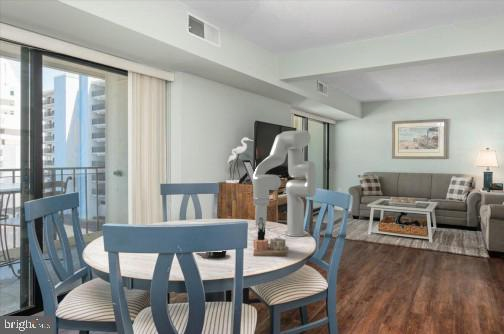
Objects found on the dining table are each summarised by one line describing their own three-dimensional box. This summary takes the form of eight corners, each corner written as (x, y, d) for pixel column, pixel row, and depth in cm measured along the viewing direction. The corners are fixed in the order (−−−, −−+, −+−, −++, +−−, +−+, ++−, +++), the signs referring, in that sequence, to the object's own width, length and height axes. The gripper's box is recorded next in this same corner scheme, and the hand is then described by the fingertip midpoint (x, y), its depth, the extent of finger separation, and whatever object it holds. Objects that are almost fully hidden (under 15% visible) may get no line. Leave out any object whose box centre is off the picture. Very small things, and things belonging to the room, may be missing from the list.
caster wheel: (227, 260, 156) (215, 263, 148) (207, 252, 162) (195, 254, 153) (231, 246, 156) (219, 248, 148) (211, 238, 162) (198, 239, 153)
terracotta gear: (254, 246, 168) (254, 237, 168) (268, 246, 167) (268, 238, 167) (253, 249, 161) (253, 241, 161) (267, 250, 160) (267, 241, 160)
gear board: (255, 245, 173) (255, 234, 173) (285, 246, 172) (285, 234, 172) (253, 255, 155) (253, 243, 155) (286, 256, 154) (286, 243, 154)
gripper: (254, 199, 172) (254, 233, 173) (252, 204, 155) (252, 242, 156) (269, 199, 172) (269, 233, 173) (268, 204, 155) (269, 242, 155)
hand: (261, 237), depth 164 cm, fingers open, 9 cm apart
